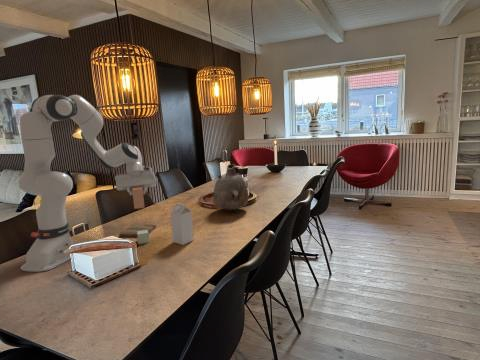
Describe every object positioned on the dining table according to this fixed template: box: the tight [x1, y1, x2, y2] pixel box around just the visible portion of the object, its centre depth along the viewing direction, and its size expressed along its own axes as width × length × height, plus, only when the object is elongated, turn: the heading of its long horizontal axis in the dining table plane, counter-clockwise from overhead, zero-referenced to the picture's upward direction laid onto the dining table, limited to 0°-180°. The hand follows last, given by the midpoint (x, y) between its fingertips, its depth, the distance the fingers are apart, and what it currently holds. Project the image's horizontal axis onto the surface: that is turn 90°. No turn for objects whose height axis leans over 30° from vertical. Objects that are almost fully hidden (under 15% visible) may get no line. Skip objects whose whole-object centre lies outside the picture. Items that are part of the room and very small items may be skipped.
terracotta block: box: [131, 187, 146, 209], centre depth 162 cm, size 5×5×10 cm
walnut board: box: [118, 224, 157, 238], centre depth 168 cm, size 14×14×2 cm
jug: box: [213, 163, 249, 212], centre depth 194 cm, size 24×21×30 cm
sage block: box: [137, 230, 150, 245], centre depth 154 cm, size 5×5×5 cm
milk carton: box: [170, 202, 194, 246], centre depth 151 cm, size 7×7×19 cm
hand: (137, 194), depth 161 cm, fingers closed on terracotta block, 5 cm apart
